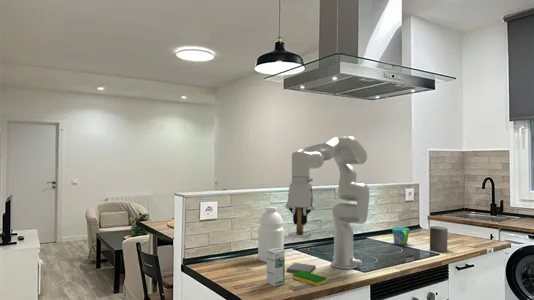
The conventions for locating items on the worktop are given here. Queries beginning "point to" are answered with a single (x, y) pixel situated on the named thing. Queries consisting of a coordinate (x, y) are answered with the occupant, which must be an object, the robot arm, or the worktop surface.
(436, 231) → the pillar candle
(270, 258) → the syrup box
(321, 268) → the worktop surface
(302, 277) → the dish sponge
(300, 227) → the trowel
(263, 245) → the bottle
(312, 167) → the robot arm
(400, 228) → the snack cup
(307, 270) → the rubber mat
